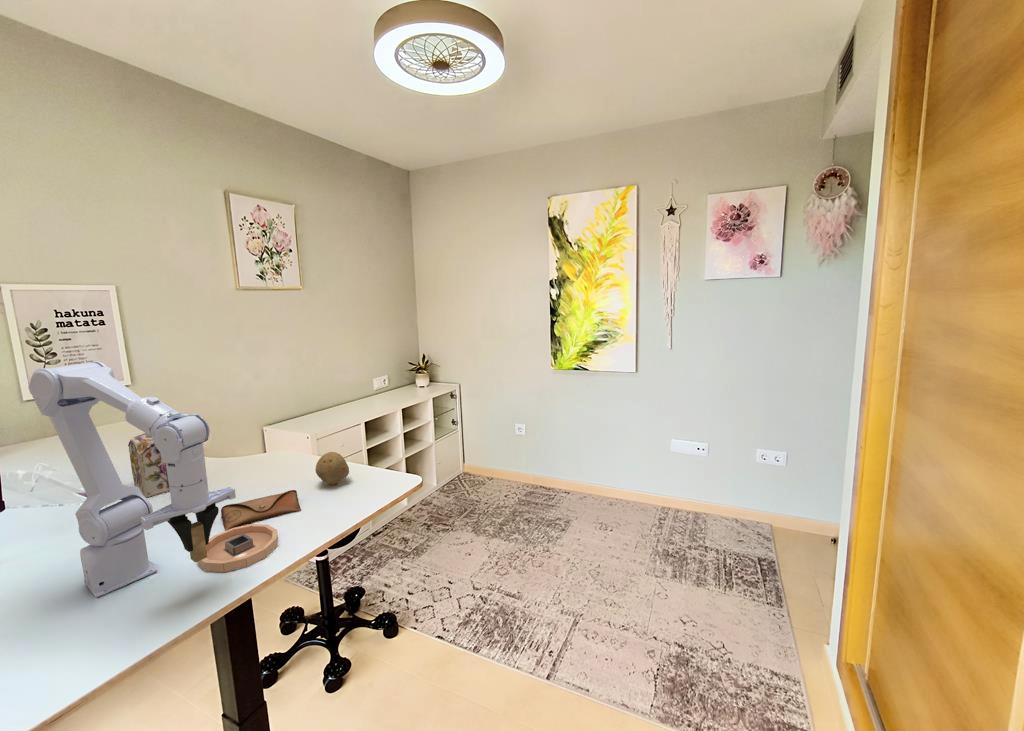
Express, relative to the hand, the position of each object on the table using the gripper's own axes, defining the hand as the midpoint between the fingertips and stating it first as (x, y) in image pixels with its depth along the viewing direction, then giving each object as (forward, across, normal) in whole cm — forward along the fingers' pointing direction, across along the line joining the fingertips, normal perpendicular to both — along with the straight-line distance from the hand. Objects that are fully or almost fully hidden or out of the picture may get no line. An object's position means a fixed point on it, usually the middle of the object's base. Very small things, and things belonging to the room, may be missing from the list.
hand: (196, 546), depth 82 cm
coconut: (+9, +42, +20) cm, 47 cm away
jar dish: (+9, +10, +7) cm, 15 cm away
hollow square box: (+9, +10, +7) cm, 15 cm away
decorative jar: (+9, +13, +60) cm, 62 cm away
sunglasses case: (+10, +21, +19) cm, 30 cm away
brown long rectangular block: (+2, 0, 0) cm, 2 cm away
